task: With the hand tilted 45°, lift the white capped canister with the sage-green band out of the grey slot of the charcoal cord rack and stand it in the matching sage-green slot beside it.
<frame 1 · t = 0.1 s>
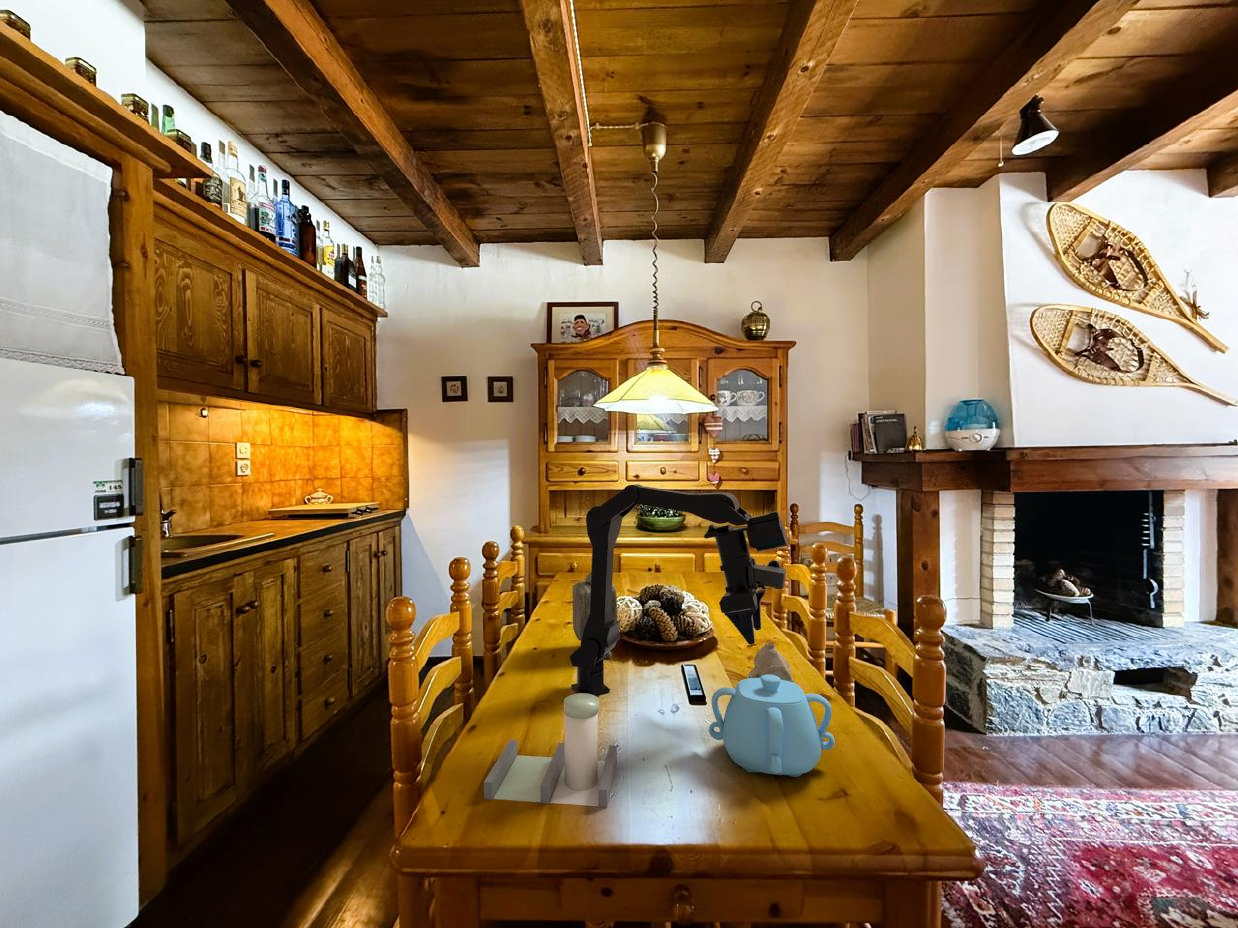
hand: (755, 636, 106), 15 cm above the table, tool pointing down, fingers open, 9 cm apart
tabletop clock: (593, 652, 142), on the table
ceramic model: (770, 689, 119), on the table
white capped canister: (581, 780, 83), point 1 cm above the table, touching cord rack
decorative pot: (770, 760, 91), on the table
cord rack: (554, 785, 83), on the table
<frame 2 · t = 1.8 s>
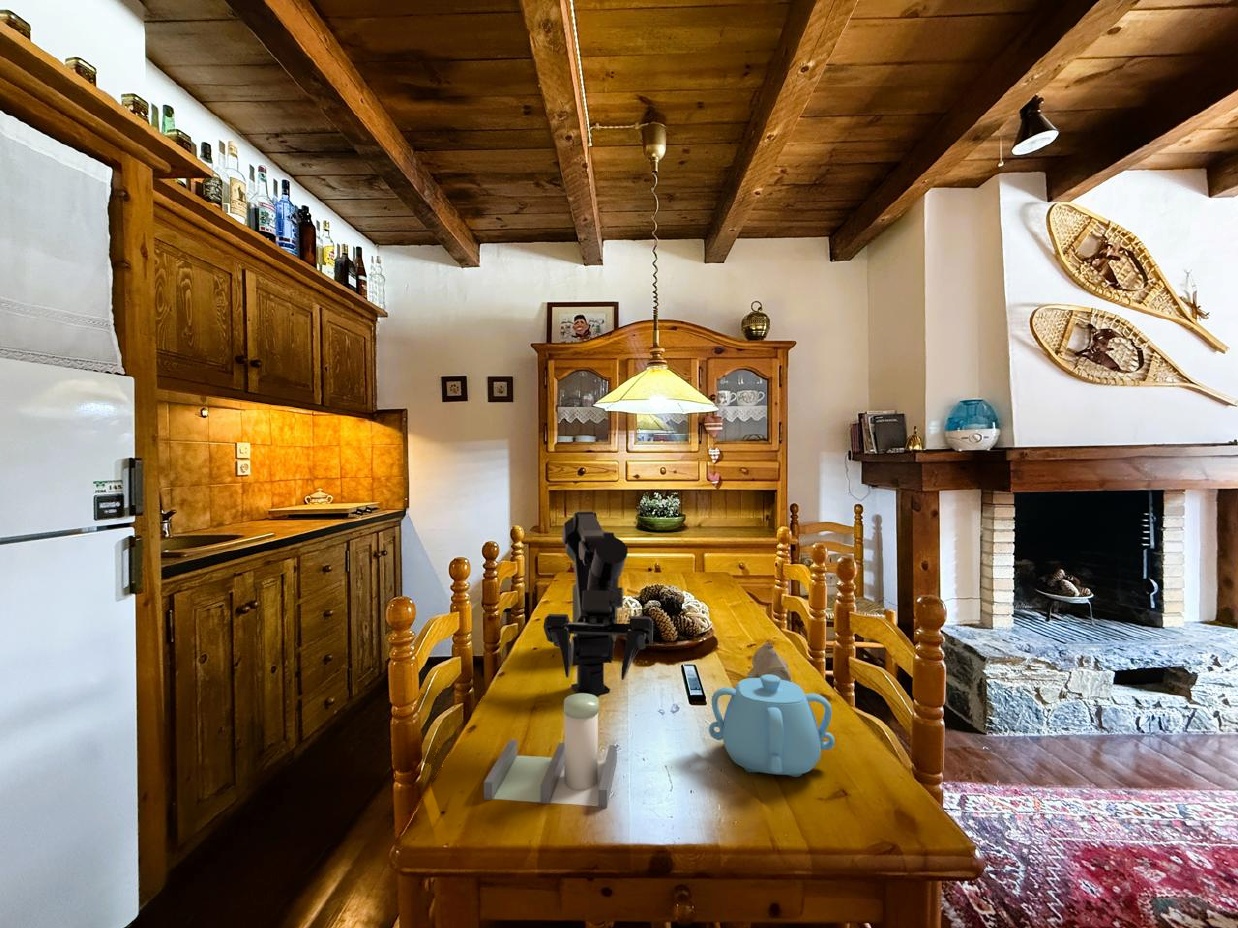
hand: (594, 677, 91), 13 cm above the table, tool tilted 45°, fingers open, 9 cm apart
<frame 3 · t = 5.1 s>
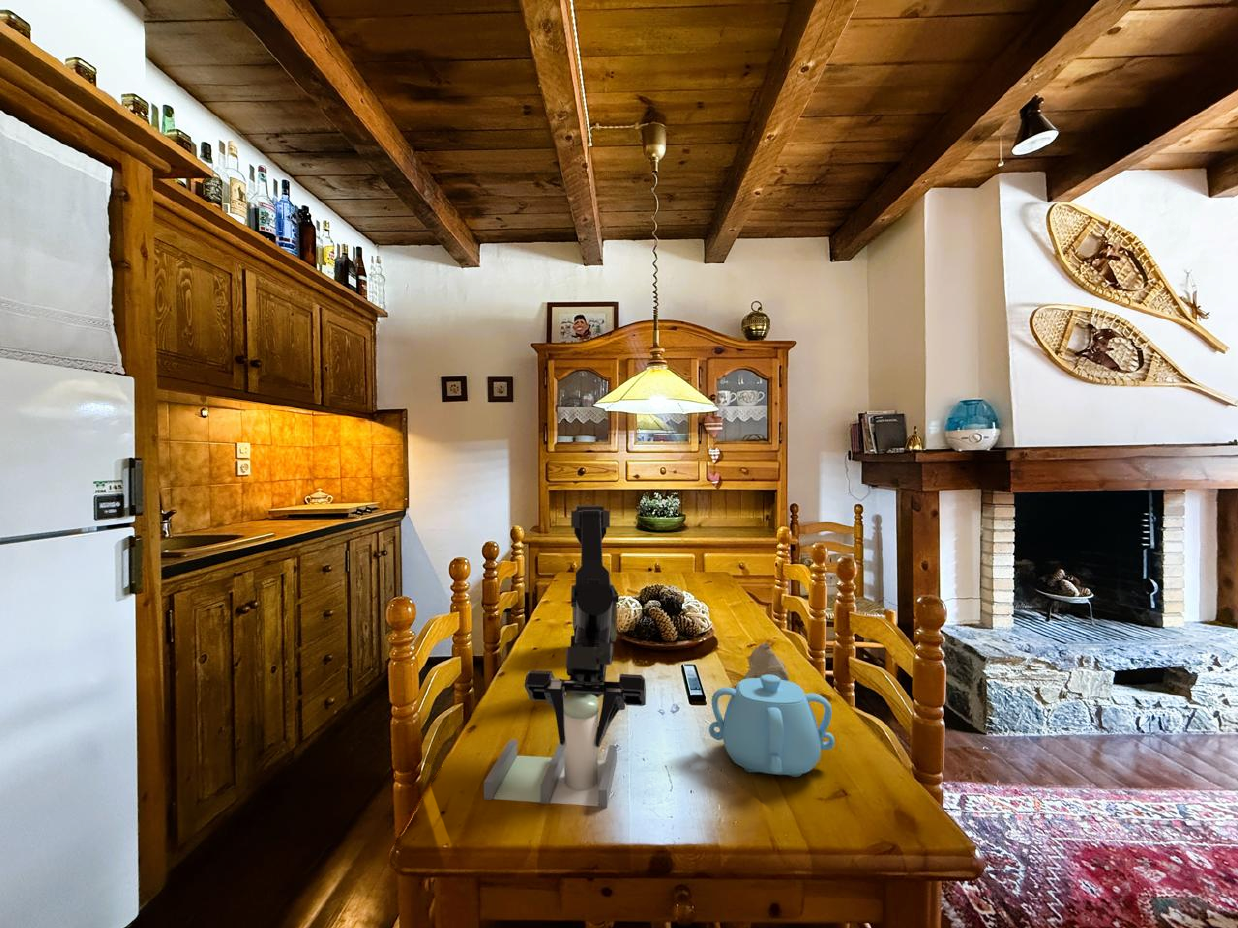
hand: (579, 745, 81), 7 cm above the table, tool tilted 45°, fingers closed on white capped canister, 5 cm apart
white capped canister: (581, 780, 83), point 1 cm above the table, touching cord rack, gripper
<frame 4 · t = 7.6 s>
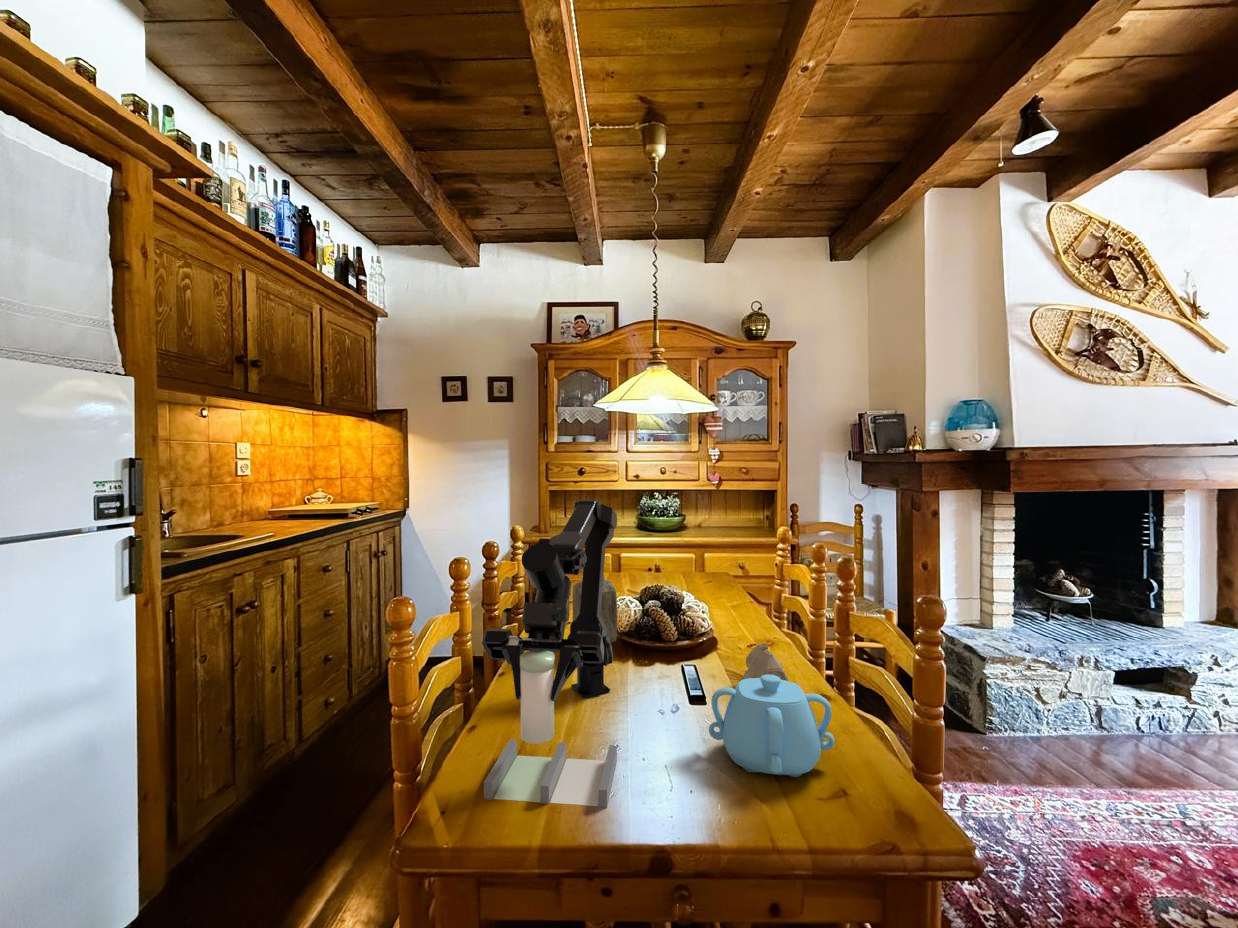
hand: (535, 699, 82), 14 cm above the table, tool tilted 45°, fingers closed on white capped canister, 5 cm apart
white capped canister: (537, 734, 84), point 8 cm above the table, touching gripper
when the fingers open (8 cm above the table, at t = 9.9 s): white capped canister stays where it is, resting on cord rack.
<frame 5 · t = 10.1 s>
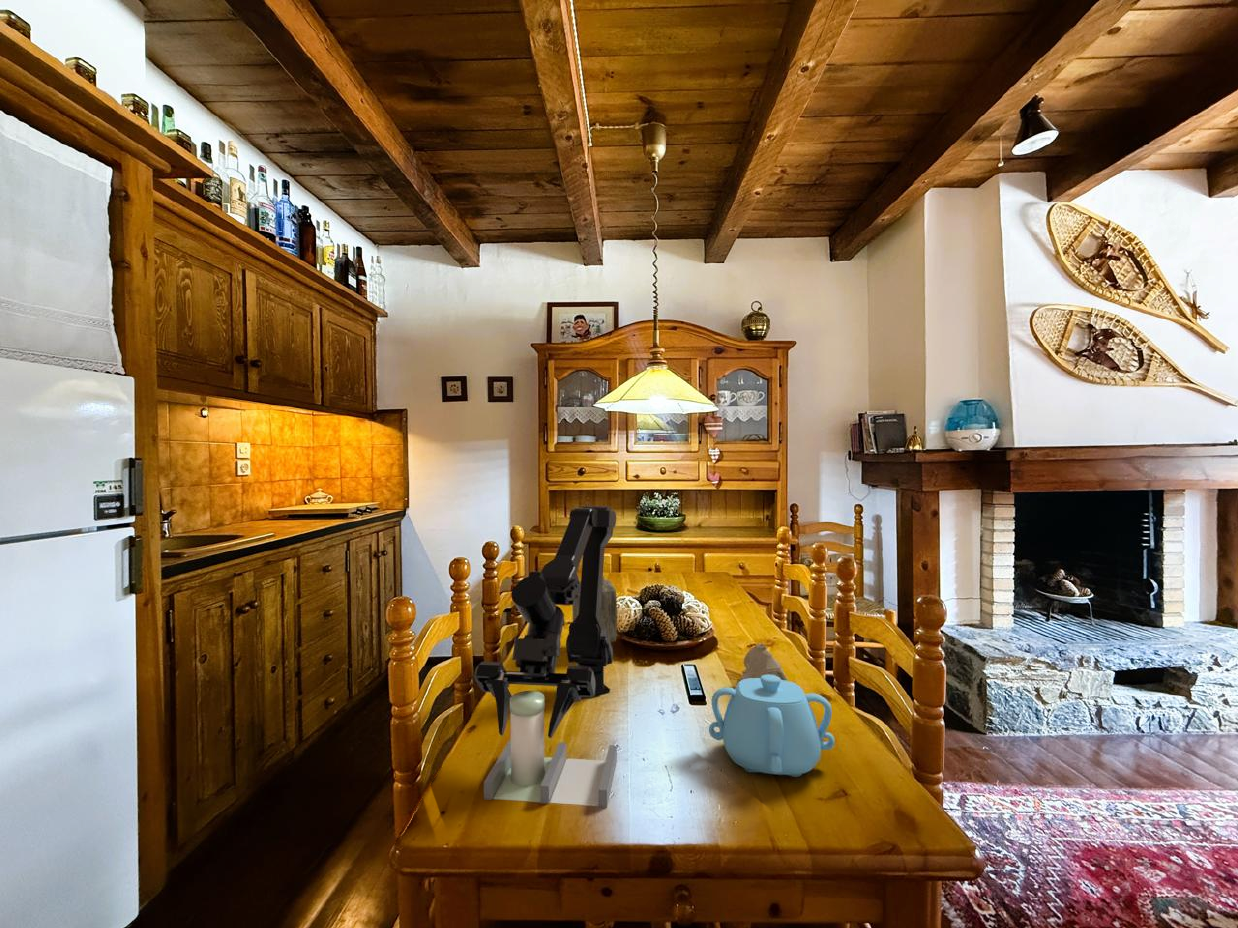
hand: (525, 735, 82), 8 cm above the table, tool tilted 45°, fingers open, 7 cm apart
white capped canister: (527, 776, 84), point 1 cm above the table, touching cord rack
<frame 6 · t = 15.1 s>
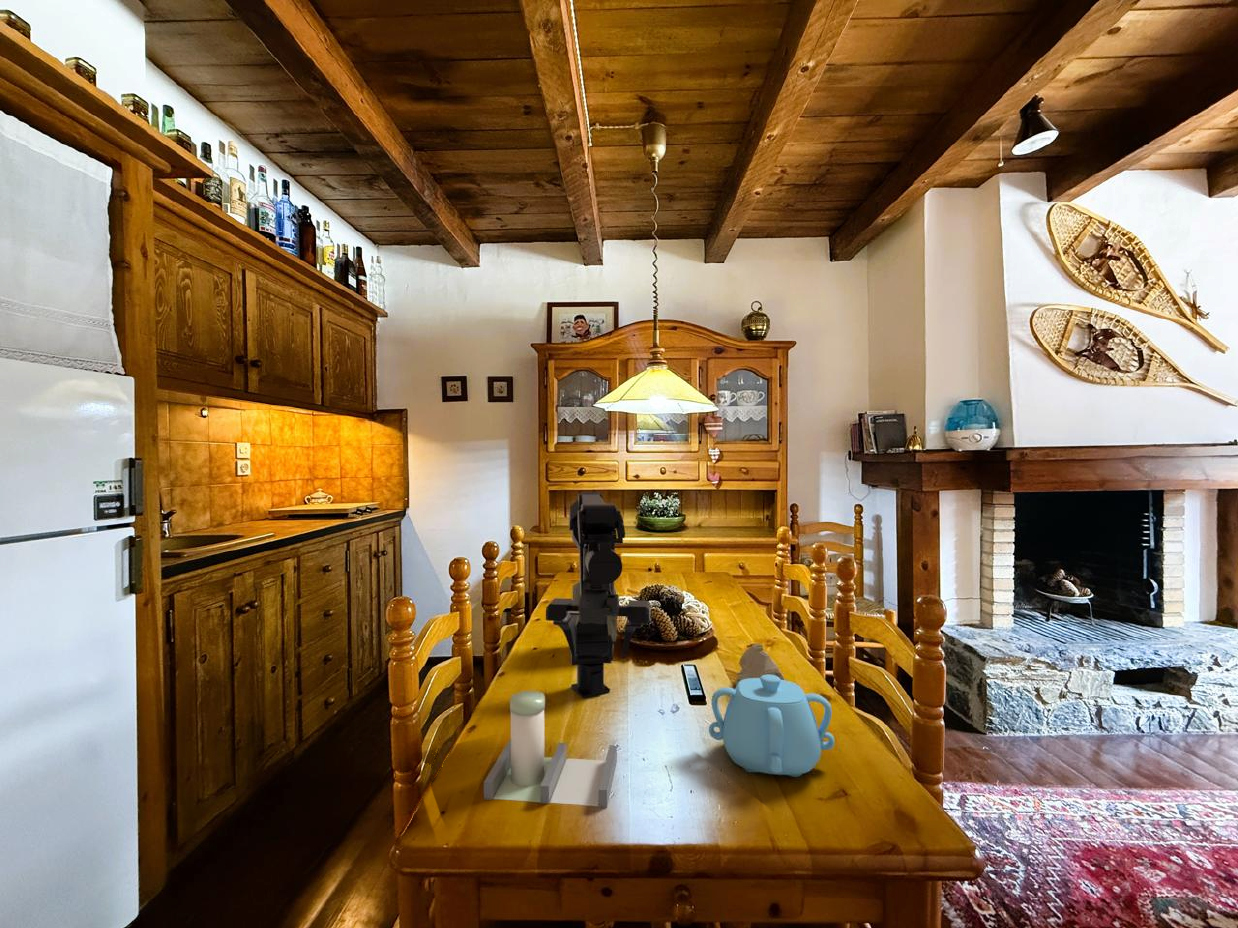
hand: (598, 657, 101), 13 cm above the table, tool pointing down, fingers open, 9 cm apart
at the end: white capped canister 0.1 cm from the target spot on the cord rack, point 1.1 cm above the cord rack's base; white capped canister tilted 1°; the gripper is holding nothing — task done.
